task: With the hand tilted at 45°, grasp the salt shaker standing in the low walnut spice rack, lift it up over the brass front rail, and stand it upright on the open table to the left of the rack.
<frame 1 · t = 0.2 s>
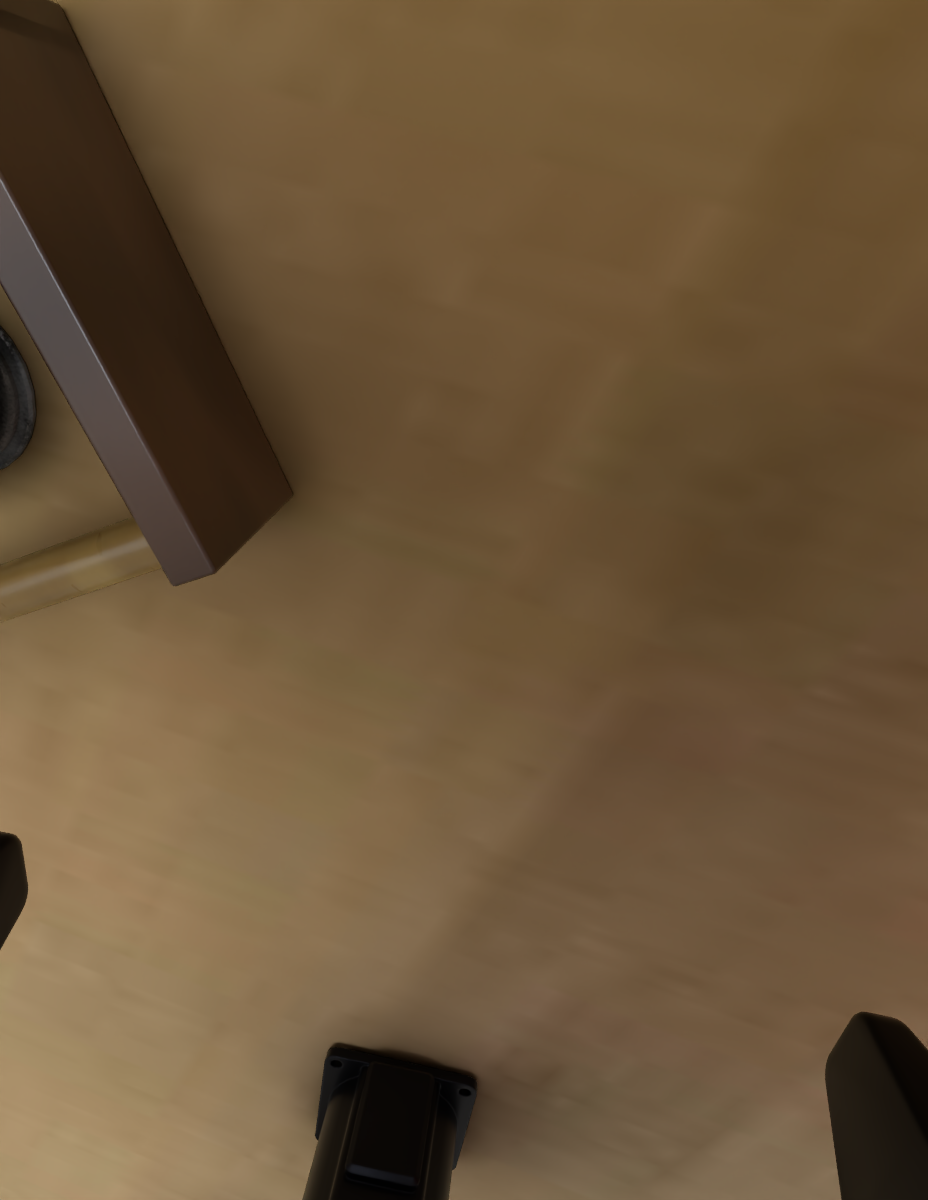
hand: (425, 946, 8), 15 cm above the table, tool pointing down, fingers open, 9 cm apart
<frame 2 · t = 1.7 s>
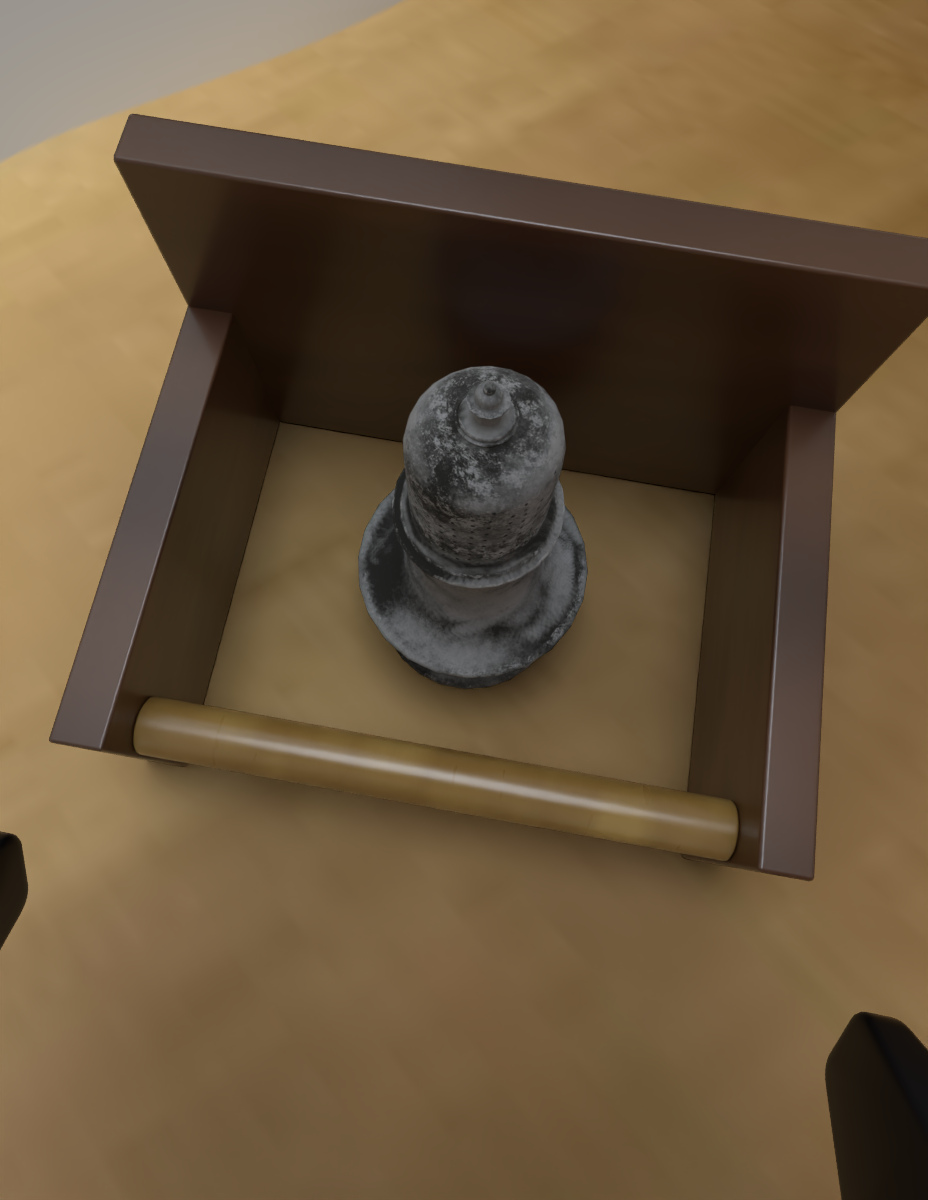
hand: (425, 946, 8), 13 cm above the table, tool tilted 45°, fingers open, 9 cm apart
spice rack: (469, 601, 23), on the table
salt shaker: (469, 603, 23), on the table
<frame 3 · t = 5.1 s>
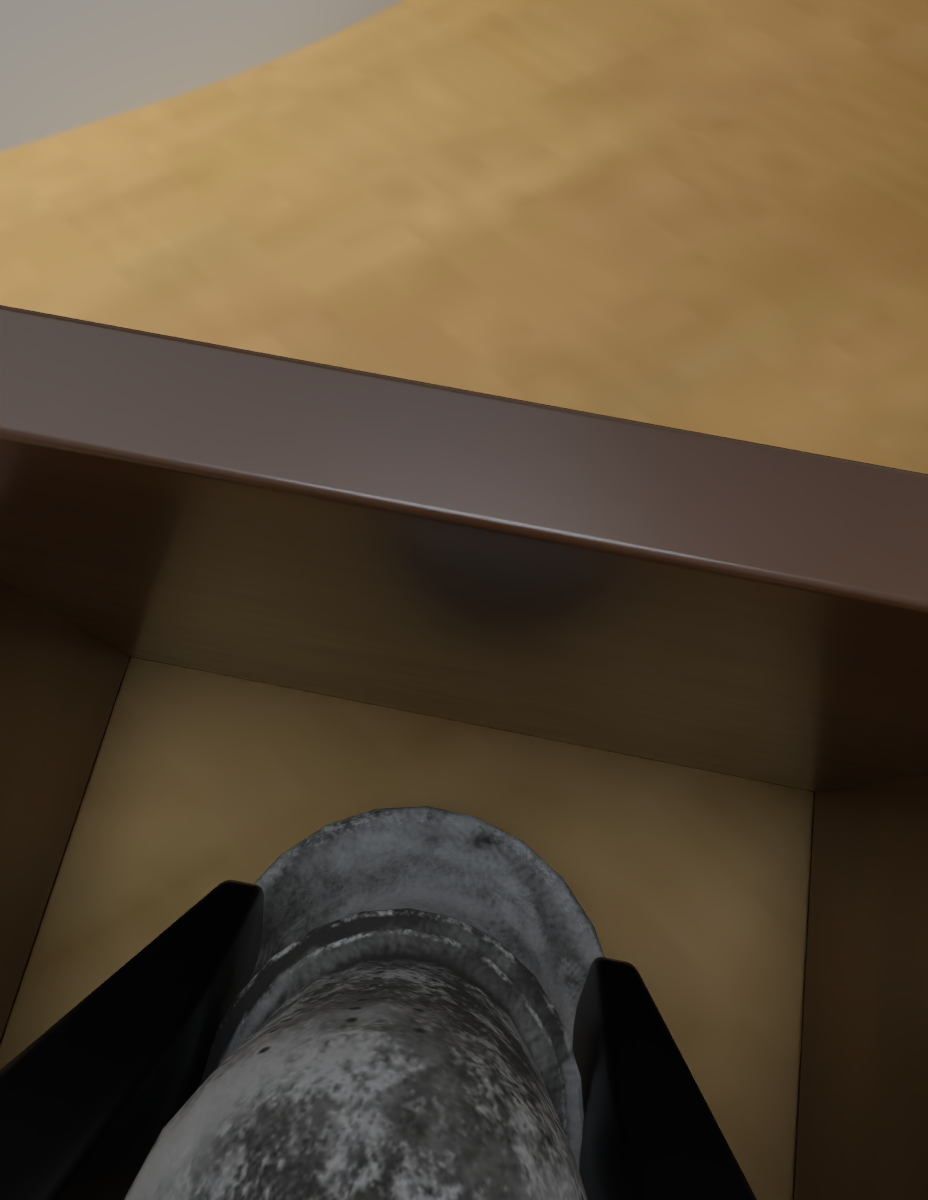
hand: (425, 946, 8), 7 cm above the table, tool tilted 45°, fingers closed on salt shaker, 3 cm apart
spice rack: (416, 981, 14), on the table
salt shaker: (416, 979, 14), on the table, touching gripper
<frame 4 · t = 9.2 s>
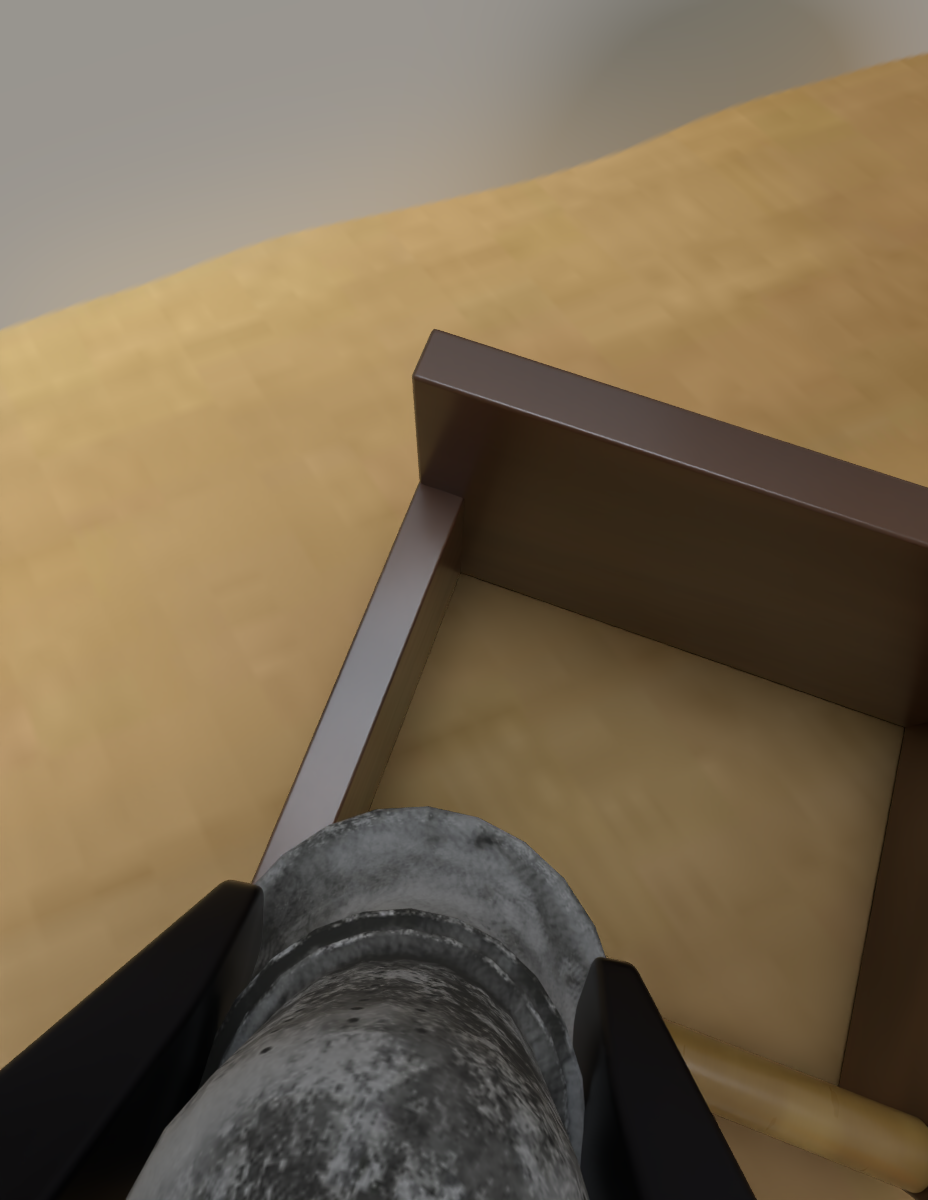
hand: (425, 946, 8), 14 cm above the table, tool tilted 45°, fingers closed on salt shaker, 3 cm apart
spice rack: (633, 801, 22), on the table
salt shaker: (418, 979, 14), point 7 cm above the table, touching gripper
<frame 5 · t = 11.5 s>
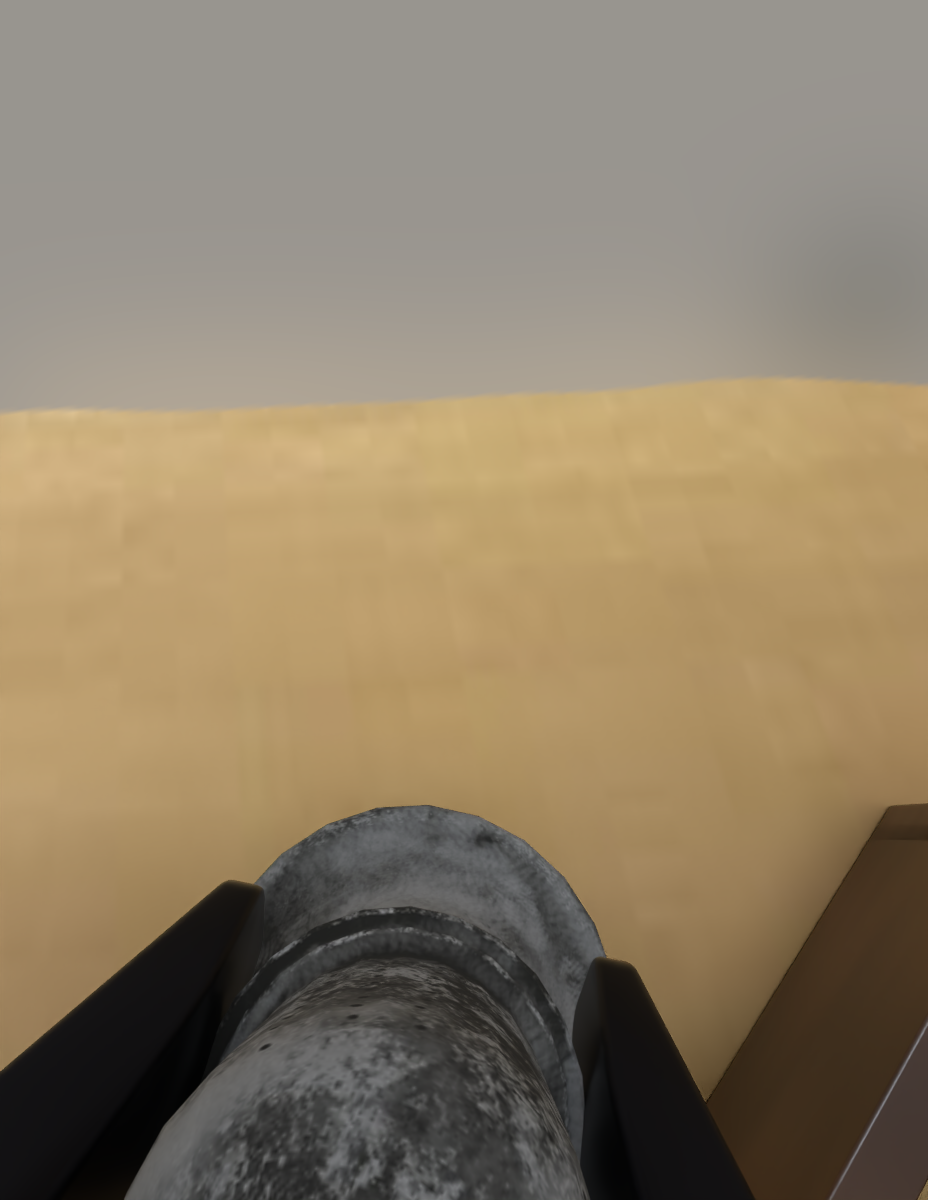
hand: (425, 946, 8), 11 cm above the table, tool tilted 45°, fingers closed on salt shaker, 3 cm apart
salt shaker: (418, 978, 14), point 4 cm above the table, touching gripper
when the fingers open (7 cm above the table, at t = 13.2 s): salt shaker stays where it is, on the table.
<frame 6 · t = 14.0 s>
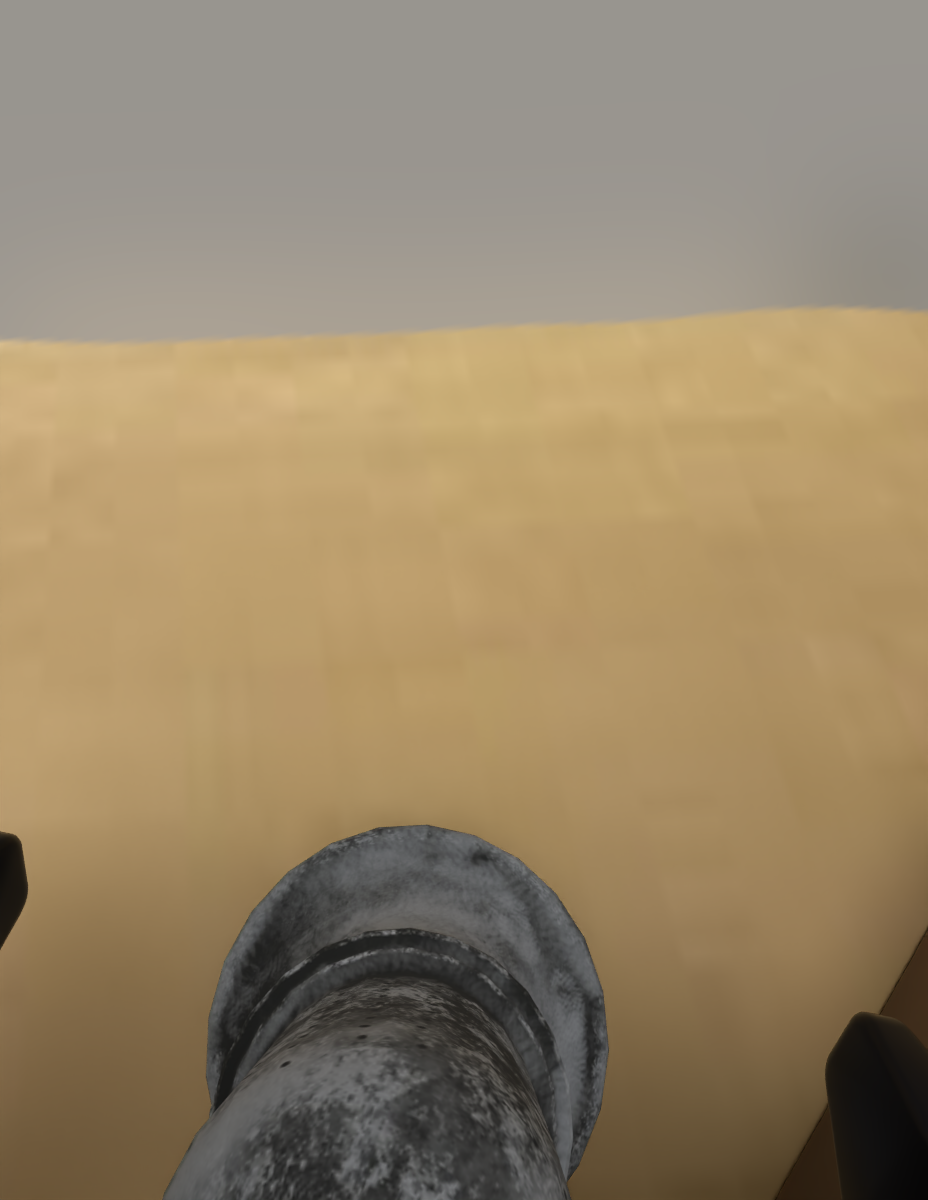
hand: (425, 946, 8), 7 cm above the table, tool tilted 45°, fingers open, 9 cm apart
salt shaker: (417, 987, 15), on the table
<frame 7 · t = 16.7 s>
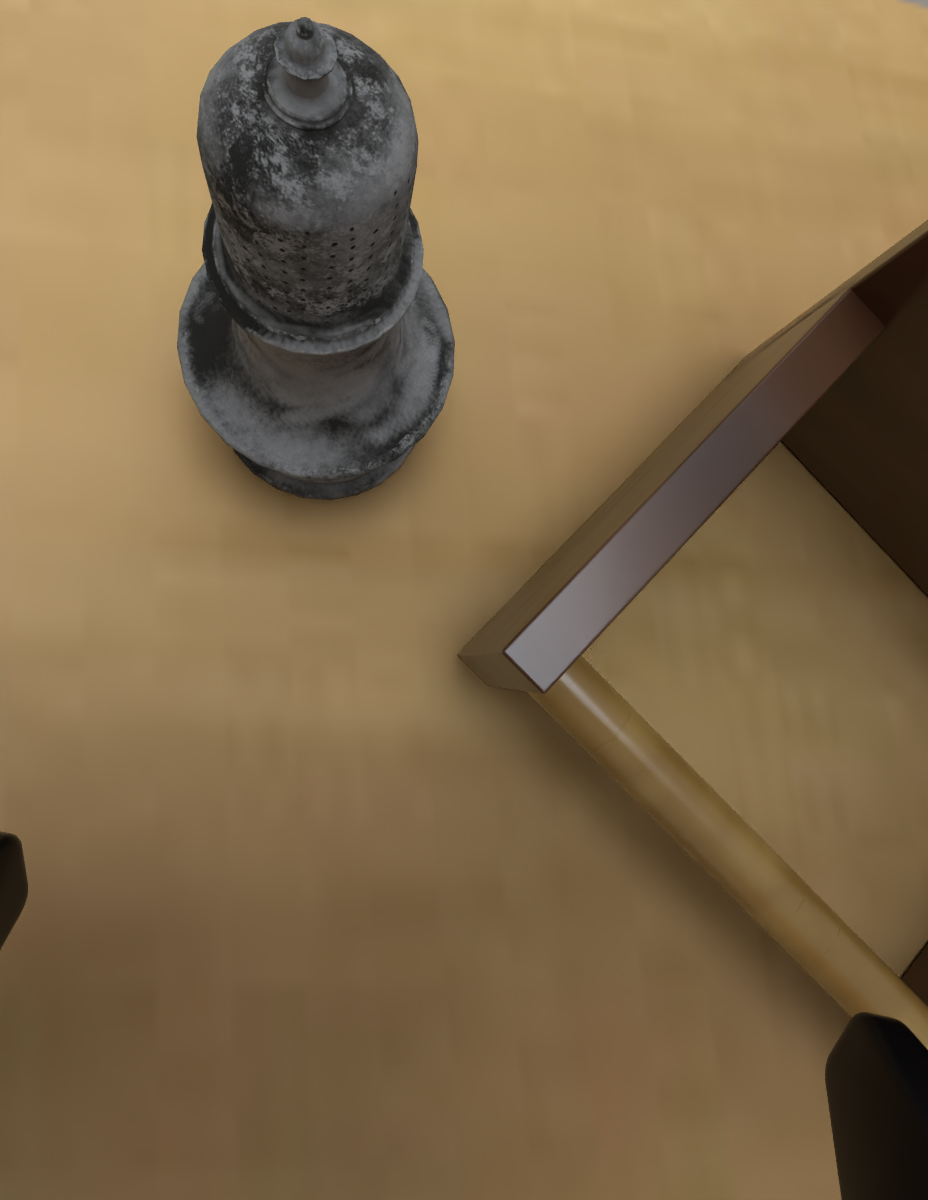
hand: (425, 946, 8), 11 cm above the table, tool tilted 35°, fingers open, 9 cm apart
spice rack: (814, 702, 22), on the table
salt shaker: (322, 402, 20), on the table
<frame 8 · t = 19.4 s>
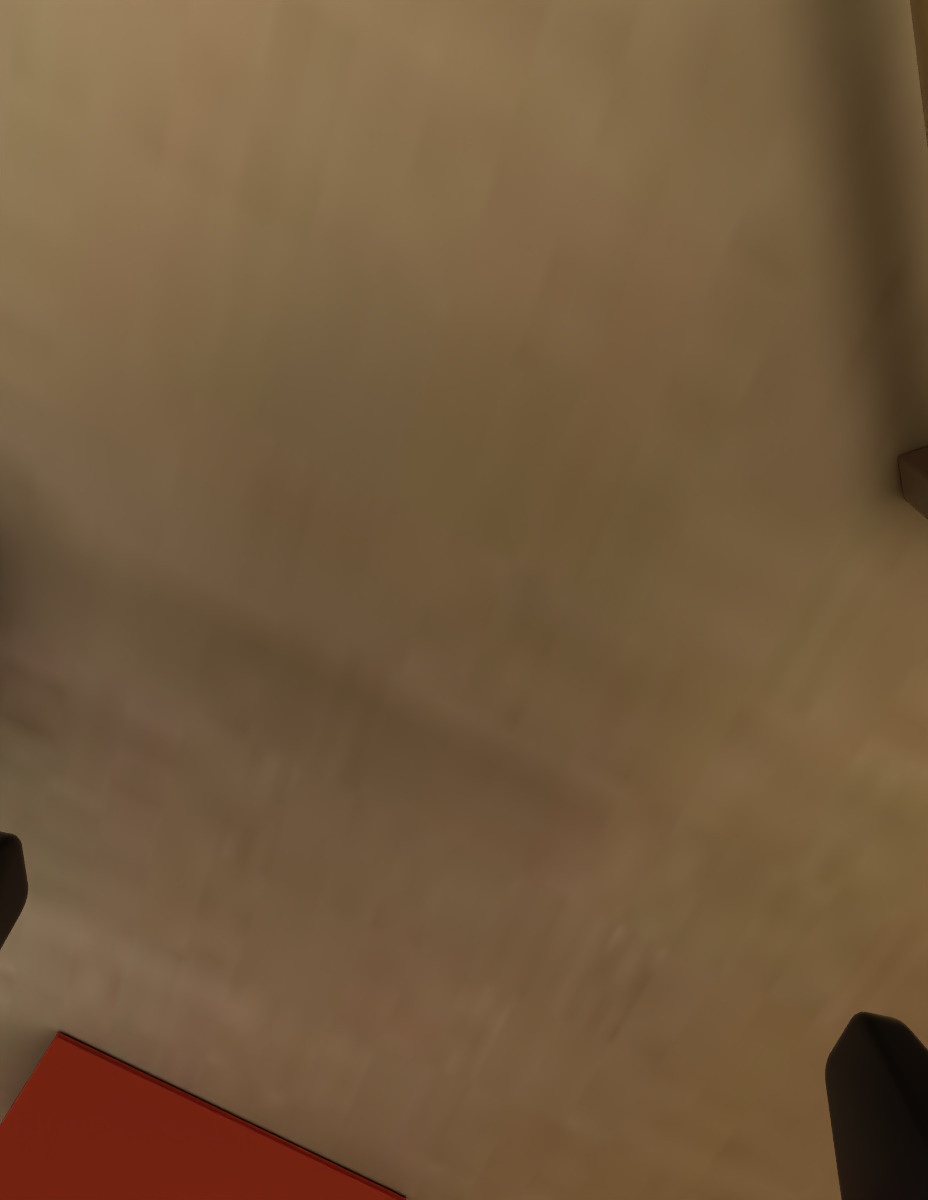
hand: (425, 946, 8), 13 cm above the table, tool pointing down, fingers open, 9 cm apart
file binder: (209, 1147, 35), on the table
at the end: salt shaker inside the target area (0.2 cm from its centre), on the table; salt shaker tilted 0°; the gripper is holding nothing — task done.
